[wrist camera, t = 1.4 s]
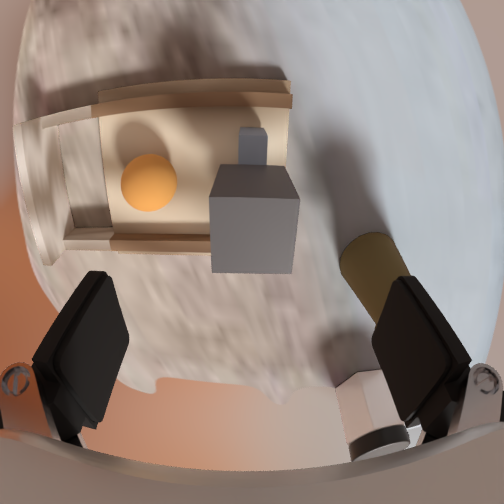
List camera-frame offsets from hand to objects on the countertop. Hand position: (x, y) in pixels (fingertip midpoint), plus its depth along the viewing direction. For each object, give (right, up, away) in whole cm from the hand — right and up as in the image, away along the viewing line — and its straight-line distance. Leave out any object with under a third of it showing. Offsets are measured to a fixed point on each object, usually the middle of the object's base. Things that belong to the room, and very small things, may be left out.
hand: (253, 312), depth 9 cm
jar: (+16, -18, +29) cm, 37 cm away
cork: (+11, +1, +17) cm, 20 cm away
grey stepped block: (0, +7, +11) cm, 13 cm away
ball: (-7, +7, +10) cm, 14 cm away
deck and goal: (-8, +8, +12) cm, 17 cm away
